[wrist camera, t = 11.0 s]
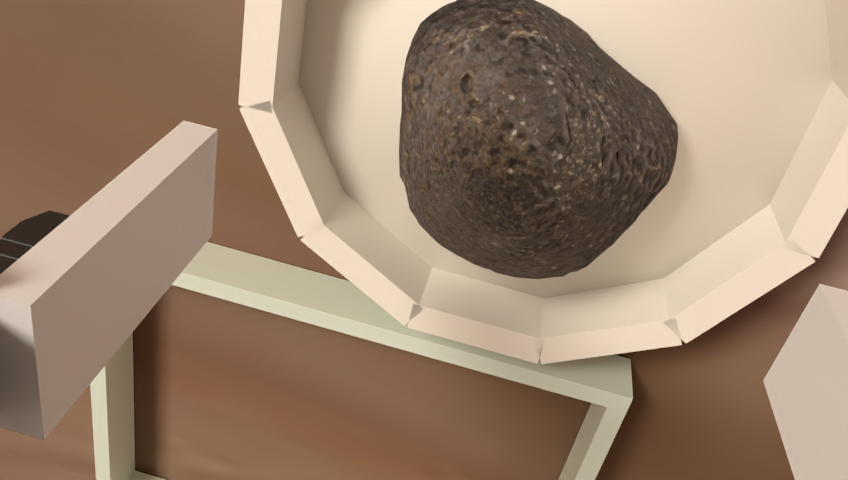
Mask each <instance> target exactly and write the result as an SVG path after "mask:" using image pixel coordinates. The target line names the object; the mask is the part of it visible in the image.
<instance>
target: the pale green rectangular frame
mask: <svg viewBox="0 0 848 480" xmlns="http://www.w3.org/2000/svg"><path fill="white" fill-rule="evenodd" d="M172 285H175V286H178V287H182V288H185V289H189V290H192V291H196V292H200V293H203V294H207V295H210V296H214V297H217V298H221V299H224V300H228V301H231V302H235V303H239V304H242V305H246V306H249V307H253V308H256V309H260V310H263V311H267V312H270V313H274V314H278V315H281V316H285V317H288V318H292V319H295V320H299V321H302V322H306V323H310V324H313V325H317V326H320V327H324V328H327V329H331V330H334V331H338V332H341V333H345V334H349V335H352V336H356V337H359V338H363V339H366V340H370V341H373V342H377V343H381V344H384V345H388V346H391V347H395V348H398V349H402V350H405V351H409V352H412V353H416V354H420V355H423V356H427V357H430V358H434V359H437V360H441V361H444V362H448V363H451V364H455V365H459V366H462V367H466V368H469V369H473V370H476V371H480V372H483V373H487V374H491V375H494V376H498V377H501V378H505V379H508V380H512V381H515V382H519V383H522V384H526V385H530V386H533V387H537V388H540V389H544V390H547V391H551V392H554V393H558V394H562V395H565V396H569V397H572V398H576V399H579V400H583V401H586V402H590V403H591V405H590V407H589V410H588V412H587V414H586V416H585V419H584V421H583V423H582V426H581V428H580V430H579V433H578V435H577V437H576V440H575V442H574V444H573V447H572V449H571V451H570V454H569V456H568V458H567V461H566V463H565V465H564V468H563V470H562V472H561V474H560V477H559V479H558V480H595V479H596V476H597V474H598V472H599V470H600V468H601V466H602V464H603V462H604V459H605V457H606V455H607V453H608V451H609V449H610V447H611V445H612V442H613V440H614V438H615V436H616V434H617V432H618V430H619V428H620V425H621V423H622V421H623V419H624V417H625V415H626V413H627V411H628V408H629V406H630V404H631V402H632V400H633V389H632V373H631V359H628V358H624V357H621V356H617V355H614V354H613V355H606V356H598V357H591V358H584V359H576V360H569V361H562V362H555V363H547V364H541V361H540V359H539V361H538V364H536V363H532V362H529V361H525V360H522V359H518V358H514V357H511V356H507V355H504V354H500V353H497V352H493V351H489V350H486V349H482V348H479V347H475V346H471V345H468V344H464V343H461V342H457V341H454V340H450V339H446V338H443V337H439V336H436V335H432V334H429V333H425V332H421V331H418V330H414V329H411V328H407V327H408V323H409V322H408V323H407V324H405V325H402V324H401V323H400V322H399V321H398V320H396V319H395V318H394V317H393V316H392V315H390V314H389V313H388V312H387V311H385V310H384V309H383V308H382V307H381V306H379V305H378V304H377V303H376V302H375V301H373V300H372V299H371V298H370V297H369V296H367V295H366V294H365V293H364V292H362V291H361V290H360V289H359V288H358V287H356V286H355V285H354V284H353V283H352V282H350V281H347V280H343V279H339V278H336V277H332V276H329V275H325V274H321V273H318V272H314V271H311V270H307V269H303V268H300V267H296V266H292V265H289V264H285V263H282V262H278V261H274V260H271V259H267V258H264V257H260V256H256V255H253V254H249V253H246V252H242V251H238V250H235V249H231V248H228V247H224V246H220V245H217V244H213V243H210V242H206V243H205V245H204V246H203V247H202V248H201V249H200V251H199V252H198V253H197V254H196V255H195V257H194V258H193V259H192V260H191V262H190V263H189V264H188V265H187V266H186V268H185V269H184V270H183V271H182V273H181V274H180V275H179V276H178V277H177V279H176V280H175V281H174V282H173V284H172ZM90 386H91V403H92V420H93V436H94V453H95V470H96V480H166V479H162V478H159V477H156V476H152V475H149V474H145V473H142V472H139V471H135V434H134V378H133V332H132V333H131V335H130V336H129V337H128V338H127V340H126V341H125V342H124V343H123V344H122V346H121V347H120V348H119V349H118V351H117V352H116V353H115V354H114V355H113V357H112V358H111V359H110V360H109V361H108V363H107V364H106V365H105V366H104V368H103V369H102V370H101V371H100V372H99V374H98V375H97V376H96V377H95V379H94V380H93V381H92V382H91V383H90Z"/></svg>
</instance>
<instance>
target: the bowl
mask: <svg viewBox="0 0 848 480" xmlns="http://www.w3.org/2000/svg"><path fill="white" fill-rule="evenodd" d="M455 1H456V0H245V13H244V28H243V44H242V59H241V74H240V89H239V105H241V106H242V107H241V108H240V112H241V114H242V116H243V118H244V120H245V122H246V125H247V127H248V129H249V131H250V133H251V136H252V138H253V140H254V142H255V144H256V146H257V149H258V151H259V153H260V155H261V157H262V160H263V162H264V164H265V166H266V168H267V171H268V173H269V175H270V177H271V179H272V181H273V184H274V186H275V188H276V190H277V192H278V195H279V197H280V199H281V201H282V203H283V205H284V208H285V210H286V212H287V214H288V216H289V219H290V221H291V223H292V225H293V227H294V229H295V232H296V234H297V236H298V237H300V236H303V237H302V239H301V241H302V242H303V243H304V244H306V245H307V246H308V247H309V248H310V249H312V250H313V251H314V252H315V253H317V254H318V255H319V256H320V257H321V258H323V259H324V260H325V261H326V262H327V263H329V264H330V265H331V266H332V267H333V268H335V269H336V270H337V271H338V272H340V273H341V274H342V275H343V276H344V277H346V278H347V279H348V280H349V281H350V282H352V283H353V284H354V285H355V286H356V287H358V288H359V289H360V290H361V291H362V292H364V293H365V294H366V295H367V296H369V297H370V298H371V299H372V300H373V301H375V302H376V303H377V304H378V305H379V306H381V307H382V308H383V309H384V310H385V311H387V312H388V313H389V314H390V315H392V316H393V317H394V318H395V319H396V320H398V321H399V322H400V323H401V324H402V325H405V324H407V323H408V322H409V323H408V327H407V328H411V329H414V330H418V331H421V332H425V333H429V334H432V335H436V336H439V337H443V338H446V339H450V340H454V341H457V342H461V343H464V344H468V345H471V346H475V347H479V348H482V349H486V350H489V351H493V352H497V353H500V354H504V355H507V356H511V357H514V358H518V359H522V360H525V361H529V362H532V363H536V364H538V361H539V359H540V361H541V364H547V363H555V362H562V361H569V360H576V359H584V358H591V357H598V356H606V355H613V354H620V353H628V352H635V351H642V350H650V349H657V348H664V347H672V346H679V345H682V342H681V339H682V340H683V341H684V342H685V343H688V342H689V341H691V340H693V339H694V338H696V337H697V336H699V335H701V334H702V333H704V332H705V331H707V330H708V329H710V328H712V327H713V326H715V325H716V324H718V323H719V322H721V321H723V320H724V319H726V318H727V317H729V316H730V315H732V314H734V313H735V312H737V311H738V310H740V309H742V308H743V307H745V306H746V305H748V304H749V303H751V302H753V301H754V300H756V299H757V298H759V297H760V296H762V295H764V294H765V293H767V292H768V291H770V290H772V289H773V288H775V287H776V286H778V285H779V284H781V283H783V282H784V281H786V280H787V279H789V278H790V277H792V276H794V275H795V274H797V273H798V272H800V271H801V270H803V269H805V268H806V267H808V266H809V265H811V264H813V263H814V262H815V259H814V257H816V258H819V257H820V255H821V254H822V252H823V250H824V248H825V247H826V245H827V243H828V241H829V240H830V238H831V236H832V234H833V233H834V231H835V229H836V227H837V226H838V224H839V222H840V220H841V219H842V217H843V215H844V213H845V212H846V210H847V208H848V0H536V1H538V2H540V3H542V4H544V5H546V6H548V7H550V8H552V9H554V10H555V11H557V12H558V13H560V14H561V15H562V16H564V17H566V18H568V19H570V20H571V21H573V22H574V23H575V24H577V25H578V26H579V27H580V28H582V29H583V30H584V31H585V32H587V33H588V34H589V35H590V37H591V38H592V39H593V40H594V41H595V42H596V44H597V45H598V46H599V47H600V48H601V49H602V50H603V51H604V52H605V53H607V54H608V55H609V56H610V57H611V58H612V59H614V60H615V61H616V62H617V63H618V64H620V65H621V66H622V67H623V68H624V69H626V70H627V71H628V72H629V73H630V74H632V75H633V76H634V77H635V78H637V79H638V80H639V81H641V82H642V83H643V84H645V85H646V86H647V87H649V88H650V89H651V90H653V91H654V92H655V93H656V94H657V95H658V97H659V98H660V100H661V101H662V103H663V104H664V106H665V107H666V108H667V110H668V111H669V113H670V114H671V116H672V117H673V119H674V120H675V122H676V123H677V126H678V144H677V153H676V160H675V164H674V168H673V171H672V174H671V177H670V180H669V182H668V184H667V185H666V186H665V187H664V188H663V189H662V190H661V191H660V193H659V194H658V195H657V196H656V197H655V198H654V199H653V201H652V202H651V203H650V204H649V205H648V207H647V208H646V209H645V210H644V211H642V212H641V214H640V215H639V216H638V218H637V219H636V221H635V222H634V223H633V224H632V225H631V226H630V227H629V228H628V229H627V230H626V231H625V232H624V233H623V234H622V235H621V236H620V237H619V238H618V239H617V240H616V242H615V243H614V244H613V245H612V246H610V247H609V248H608V249H607V250H605V251H604V252H603V253H602V254H601V255H600V256H598V257H597V258H596V259H595V260H594V261H593V262H592V263H590V264H589V265H588V266H587V267H585V268H583V269H581V270H579V271H576V272H570V273H568V274H567V275H565V276H563V277H551V278H544V279H529V278H517V277H511V276H507V275H503V274H499V273H495V272H493V271H492V270H490V269H485V268H483V267H480V266H477V265H474V264H472V263H471V262H469V261H467V260H465V259H463V258H461V257H460V256H457V255H455V254H454V253H452V252H451V251H449V250H448V249H446V248H444V247H442V246H441V245H440V244H438V243H437V242H436V241H435V240H434V239H433V238H432V237H431V236H430V235H429V234H428V233H427V232H426V231H425V230H424V229H423V228H422V227H421V226H420V225H419V223H418V221H417V219H416V218H415V216H414V215H413V213H412V212H411V211H410V208H409V203H408V198H407V194H406V189H405V185H404V183H403V181H402V179H401V177H400V172H399V136H400V120H401V113H402V78H403V72H404V67H405V61H406V57H407V54H408V51H409V48H410V45H411V42H412V39H413V37H414V35H415V33H416V31H417V29H418V27H419V25H420V23H421V22H422V21H423V20H425V19H426V18H427V17H428V16H429V15H431V14H432V13H433V12H435V11H436V10H438V9H440V8H441V7H443V6H445V5H447V4H449V3H452V2H455Z"/></svg>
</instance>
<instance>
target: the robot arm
mask: <svg viewBox="0 0 848 480" xmlns="http://www.w3.org/2000/svg"><path fill="white" fill-rule="evenodd" d="M217 131H218V129H215V128H211V127H207V126H203V125H199V124H195V123H191V122H187V121H183V122H181V123H180V124H179V125H178V126H177V127H176V128H174V129H173V130H172V131H171V132H170V133H168V134H167V135H166V136H165V137H164V138H162V139H161V140H160V141H159V142H158V143H156V144H155V145H154V146H153V147H152V148H150V149H149V150H148V151H147V152H146V153H144V154H143V155H142V156H141V157H140V158H139V159H137V160H136V161H135V162H134V163H133V164H131V165H130V166H129V167H128V168H127V169H125V170H124V171H123V172H122V173H121V174H119V175H118V176H117V177H116V178H115V179H113V180H112V181H111V182H110V183H109V184H107V185H106V186H105V187H104V188H103V189H102V190H100V191H99V192H98V193H97V194H96V195H94V196H93V197H92V198H91V199H90V200H88V201H87V202H86V203H85V204H84V205H82V206H81V207H80V208H79V209H78V210H76V211H75V212H74V213H73V214H72V215H70V216H68V215H65V214H61V213H57V212H53V211H47V212H45V213H42V214H39V215H37V216H34V217H31V218H29V219H26V220H24V221H21V222H20V223H19V224H18V225H16V226H15V227H14V228H12V229H11V230H10V231H9V232H7V233H6V234H5V235H3V236H2V239H1V240H0V428H4V429H7V430H11V431H15V432H18V433H22V434H25V435H29V436H33V437H36V438H40V439H43V440H44V439H45V438H46V437H47V436H48V435H49V433H50V432H51V431H52V430H53V428H54V427H55V426H56V425H57V424H58V422H59V421H60V420H61V419H62V418H63V416H64V415H65V414H66V413H67V411H68V410H69V409H70V408H71V407H72V405H73V404H74V403H75V402H76V400H77V399H78V398H79V397H80V396H81V394H82V393H83V392H84V391H85V390H86V388H87V387H88V386H89V385H90V383H91V382H92V381H93V380H94V379H95V377H96V376H97V375H98V374H99V372H100V371H101V370H102V369H103V368H104V366H105V365H106V364H107V363H108V361H109V360H110V359H111V358H112V357H113V355H114V354H115V353H116V352H117V351H118V349H119V348H120V347H121V346H122V344H123V343H124V342H125V341H126V340H127V338H128V337H129V336H130V335H131V333H132V332H133V331H134V330H135V329H136V327H137V326H138V325H139V324H140V322H141V321H142V320H143V319H144V318H145V316H146V315H147V314H148V313H149V312H150V310H151V309H152V308H153V307H154V305H155V304H156V303H157V302H158V301H159V299H160V298H161V297H162V296H163V294H164V293H165V292H166V291H167V290H168V288H169V287H170V286H171V285H172V284H173V282H174V281H175V280H176V279H177V277H178V276H179V275H180V274H181V273H182V271H183V270H184V269H185V268H186V266H187V265H188V264H189V263H190V262H191V260H192V259H193V258H194V257H195V255H196V254H197V253H198V252H199V251H200V249H201V248H202V247H203V246H204V245H205V243H206V242H207V241H208V240H209V238H210V237H211V236H212V224H213V205H214V186H215V168H216V149H217ZM763 381H764V385H765V388H766V391H767V394H768V397H769V400H770V403H771V407H772V410H773V413H774V416H775V419H776V422H777V425H778V429H779V432H780V435H781V438H782V441H783V444H784V447H785V450H786V454H787V457H788V460H789V463H790V466H791V469H792V472H793V476H794V479H795V480H848V291H846V290H842V289H838V288H834V287H831V286H827V285H823V284H819V286H818V287H817V289H816V291H815V292H814V294H813V296H812V298H811V299H810V301H809V303H808V304H807V306H806V308H805V310H804V311H803V313H802V315H801V317H800V318H799V320H798V322H797V323H796V325H795V327H794V329H793V330H792V332H791V334H790V335H789V337H788V339H787V341H786V342H785V344H784V346H783V347H782V349H781V351H780V353H779V354H778V356H777V358H776V360H775V361H774V363H773V365H772V366H771V368H770V370H769V372H768V373H767V375H766V377H765V378H764V380H763Z"/></svg>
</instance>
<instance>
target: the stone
mask: <svg viewBox="0 0 848 480" xmlns="http://www.w3.org/2000/svg"><path fill="white" fill-rule="evenodd" d="M677 144H678V126H677V123H676V122H675V120H674V119H673V117H672V116H671V114H670V113H669V111H668V110H667V108H666V107H665V106H664V104H663V103H662V101H661V100H660V98H659V97H658V95H657V94H656V93H655V92H654V91H653V90H651V89H650V88H649V87H647V86H646V85H645V84H643V83H642V82H641V81H639V80H638V79H637V78H635V77H634V76H633V75H632V74H630V73H629V72H628V71H627V70H626V69H624V68H623V67H622V66H621V65H620V64H618V63H617V62H616V61H615V60H614V59H612V58H611V57H610V56H609V55H608V54H607V53H605V52H604V51H603V50H602V49H601V48H600V47H599V46H598V45H597V44H596V42H595V41H594V40H593V39H592V38H591V37H590V35H589V34H588V33H587V32H585V31H584V30H583V29H582V28H580V27H579V26H578V25H577V24H575V23H574V22H573V21H571V20H570V19H568V18H566V17H564V16H562V15H561V14H560V13H558V12H557V11H555V10H554V9H552V8H550V7H548V6H546V5H544V4H542V3H540V2H538V1H536V0H456V1H455V2H452V3H449V4H447V5H445V6H443V7H441V8H440V9H438V10H436V11H435V12H433V13H432V14H431V15H429V16H428V17H427V18H426V19H425V20H423V21H422V22H421V23H420V25H419V27H418V29H417V31H416V33H415V35H414V37H413V39H412V42H411V45H410V48H409V51H408V54H407V57H406V61H405V67H404V72H403V78H402V113H401V120H400V136H399V172H400V177H401V179H402V181H403V183H404V185H405V189H406V194H407V198H408V203H409V208H410V211H411V212H412V213H413V215H414V216H415V218H416V219H417V221H418V223H419V225H420V226H421V227H422V228H423V229H424V230H425V231H426V232H427V233H428V234H429V235H430V236H431V237H432V238H433V239H434V240H435V241H436V242H437V243H438V244H440V245H441V246H442V247H444V248H446V249H448V250H449V251H451V252H452V253H454V254H455V255H457V256H460V257H461V258H463V259H465V260H467V261H469V262H471V263H472V264H474V265H477V266H480V267H483V268H485V269H490V270H492V271H493V272H495V273H499V274H503V275H507V276H511V277H517V278H529V279H544V278H551V277H563V276H565V275H567V274H568V273H570V272H576V271H579V270H581V269H583V268H585V267H587V266H588V265H589V264H590V263H592V262H593V261H594V260H595V259H596V258H597V257H598V256H600V255H601V254H602V253H603V252H604V251H605V250H607V249H608V248H609V247H610V246H612V245H613V244H614V243H615V242H616V240H617V239H618V238H619V237H620V236H621V235H622V234H623V233H624V232H625V231H626V230H627V229H628V228H629V227H630V226H631V225H632V224H633V223H634V222H635V221H636V219H637V218H638V216H639V215H640V214H641V212H642V211H644V210H645V209H646V208H647V207H648V205H649V204H650V203H651V202H652V201H653V199H654V198H655V197H656V196H657V195H658V194H659V193H660V191H661V190H662V189H663V188H664V187H665V186H666V185H667V184H668V182H669V180H670V177H671V174H672V171H673V168H674V164H675V160H676V153H677Z"/></svg>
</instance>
